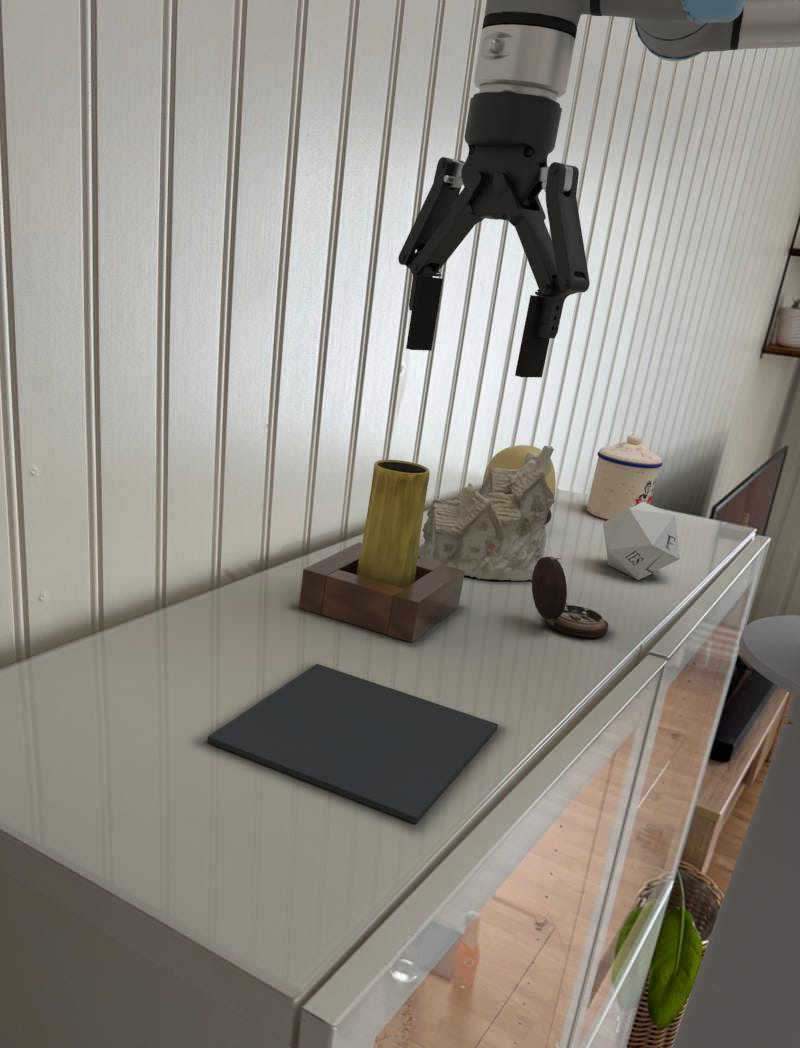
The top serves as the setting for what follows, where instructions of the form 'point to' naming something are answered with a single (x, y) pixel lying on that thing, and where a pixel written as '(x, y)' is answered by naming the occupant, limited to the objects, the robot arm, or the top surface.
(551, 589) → the compass
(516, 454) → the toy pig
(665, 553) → the die
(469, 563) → the ceramic cottage
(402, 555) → the vase
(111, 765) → the top surface
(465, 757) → the mat
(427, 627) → the holder
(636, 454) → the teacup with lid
